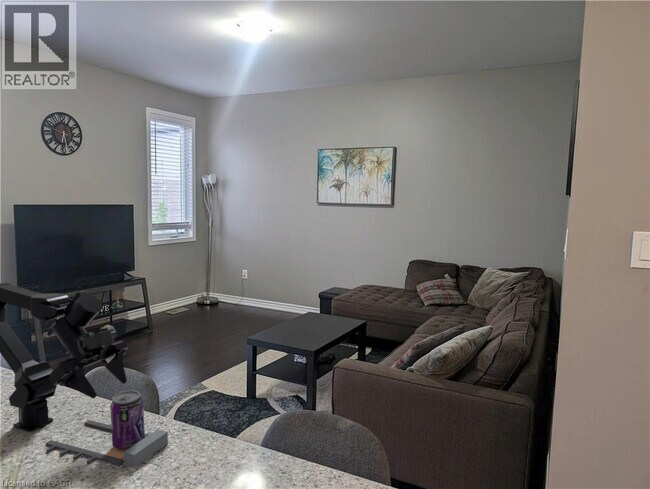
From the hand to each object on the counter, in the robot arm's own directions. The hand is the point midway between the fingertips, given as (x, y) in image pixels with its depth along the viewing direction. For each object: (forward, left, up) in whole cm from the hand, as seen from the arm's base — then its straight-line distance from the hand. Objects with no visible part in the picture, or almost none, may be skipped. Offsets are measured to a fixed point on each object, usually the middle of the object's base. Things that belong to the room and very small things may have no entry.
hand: (110, 389), depth 108 cm
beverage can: (+4, +1, -13) cm, 14 cm away
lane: (-1, -1, -13) cm, 14 cm away
